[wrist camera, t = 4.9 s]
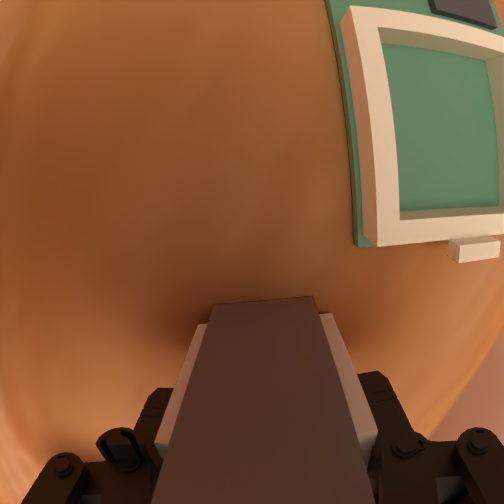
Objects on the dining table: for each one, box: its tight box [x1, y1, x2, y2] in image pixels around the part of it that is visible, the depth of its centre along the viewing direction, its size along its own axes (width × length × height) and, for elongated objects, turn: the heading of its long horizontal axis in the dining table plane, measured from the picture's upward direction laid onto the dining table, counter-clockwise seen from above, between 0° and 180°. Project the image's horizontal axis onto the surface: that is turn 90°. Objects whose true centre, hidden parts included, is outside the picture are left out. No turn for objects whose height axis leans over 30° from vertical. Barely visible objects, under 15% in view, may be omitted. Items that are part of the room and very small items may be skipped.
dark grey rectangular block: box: [151, 296, 376, 504], centre depth 9 cm, size 5×4×10 cm
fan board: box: [325, 0, 504, 263], centre depth 8 cm, size 13×9×3 cm
